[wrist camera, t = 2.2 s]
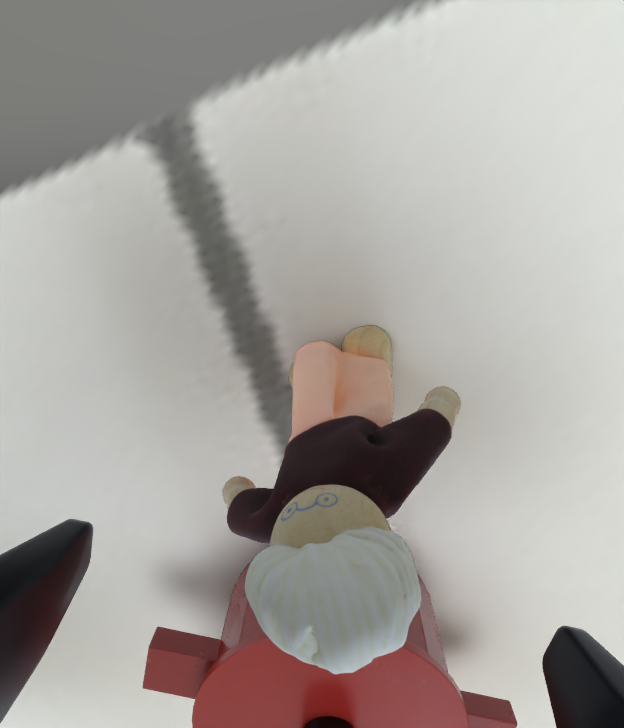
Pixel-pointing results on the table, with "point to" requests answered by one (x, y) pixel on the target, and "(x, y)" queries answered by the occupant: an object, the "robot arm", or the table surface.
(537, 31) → the table surface
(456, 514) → the table surface
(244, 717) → the pot lid
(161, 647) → the pot
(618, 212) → the table surface
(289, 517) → the grandmother figurine
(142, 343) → the table surface
